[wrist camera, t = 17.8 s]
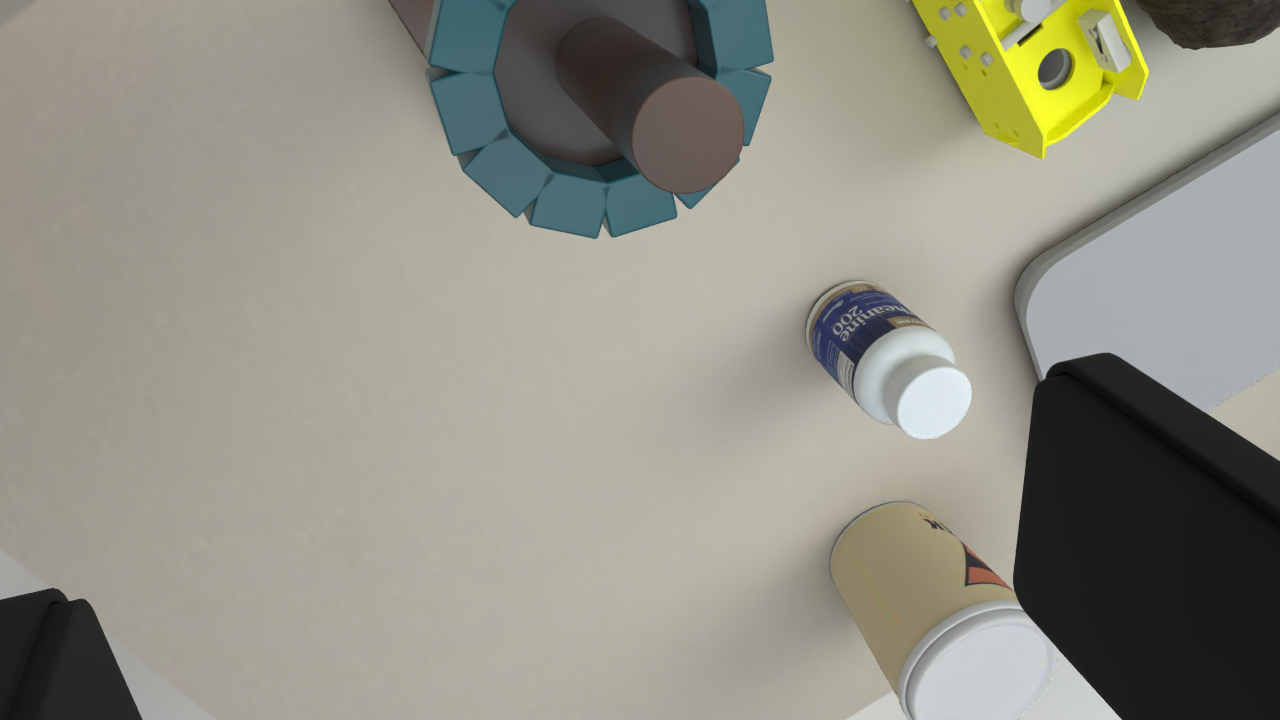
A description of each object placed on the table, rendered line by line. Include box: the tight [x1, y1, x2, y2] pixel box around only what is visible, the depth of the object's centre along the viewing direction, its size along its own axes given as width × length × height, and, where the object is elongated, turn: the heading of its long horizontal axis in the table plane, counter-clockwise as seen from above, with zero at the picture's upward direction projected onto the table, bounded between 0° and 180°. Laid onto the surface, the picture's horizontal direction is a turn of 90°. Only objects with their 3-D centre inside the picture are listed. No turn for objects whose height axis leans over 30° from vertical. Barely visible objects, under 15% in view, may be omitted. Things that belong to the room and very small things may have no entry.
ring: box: [424, 0, 774, 239], centre depth 26 cm, size 9×9×2 cm
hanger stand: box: [388, 0, 745, 194], centre depth 32 cm, size 9×9×28 cm
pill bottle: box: [806, 281, 972, 440], centre depth 53 cm, size 5×5×10 cm
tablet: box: [1014, 112, 1280, 412], centre depth 61 cm, size 16×26×2 cm, turn 117°
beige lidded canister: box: [830, 502, 1057, 720], centre depth 60 cm, size 9×9×12 cm
